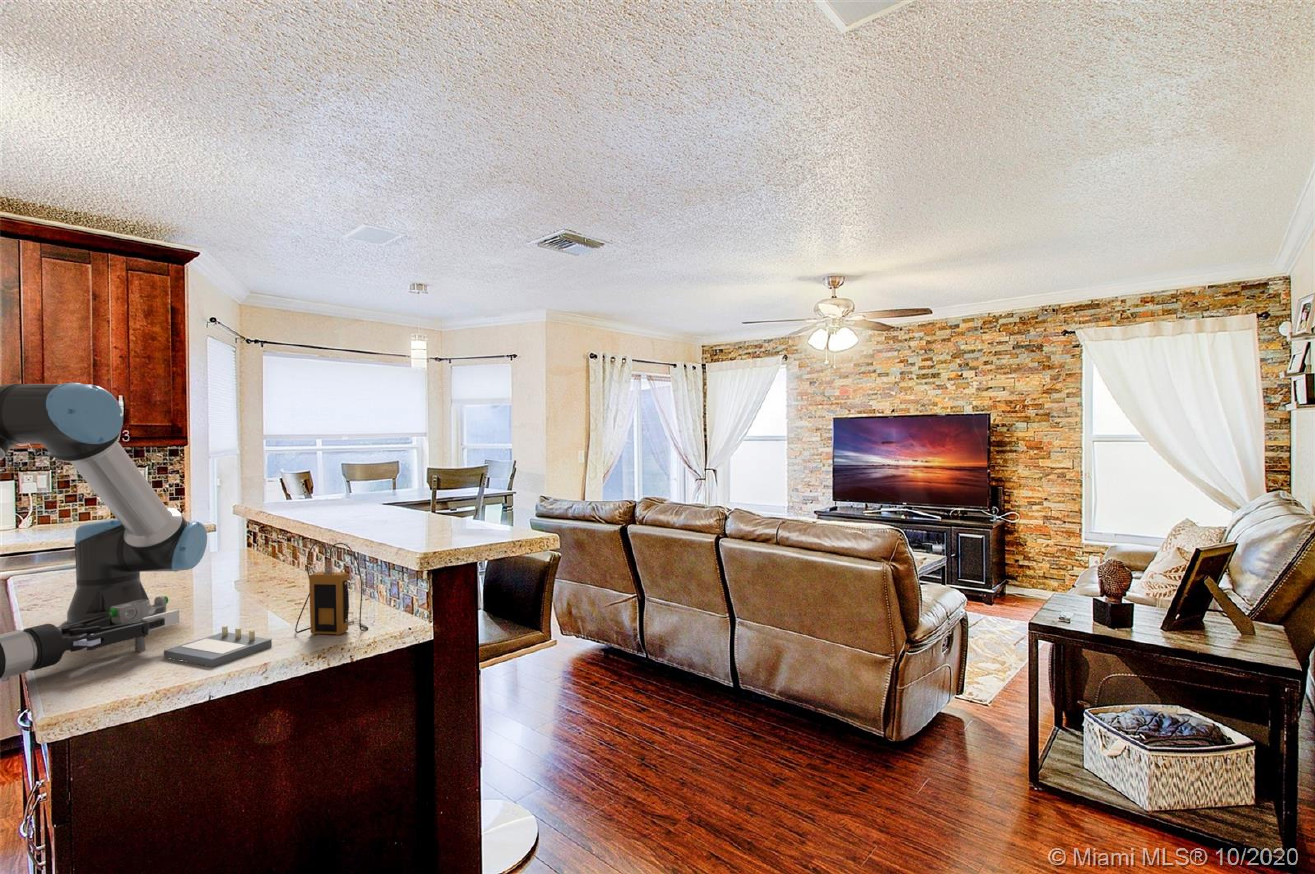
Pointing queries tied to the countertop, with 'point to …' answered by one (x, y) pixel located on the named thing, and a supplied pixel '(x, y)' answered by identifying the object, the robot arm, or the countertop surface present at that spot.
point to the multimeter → (329, 600)
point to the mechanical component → (137, 614)
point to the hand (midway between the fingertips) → (166, 614)
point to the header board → (219, 648)
